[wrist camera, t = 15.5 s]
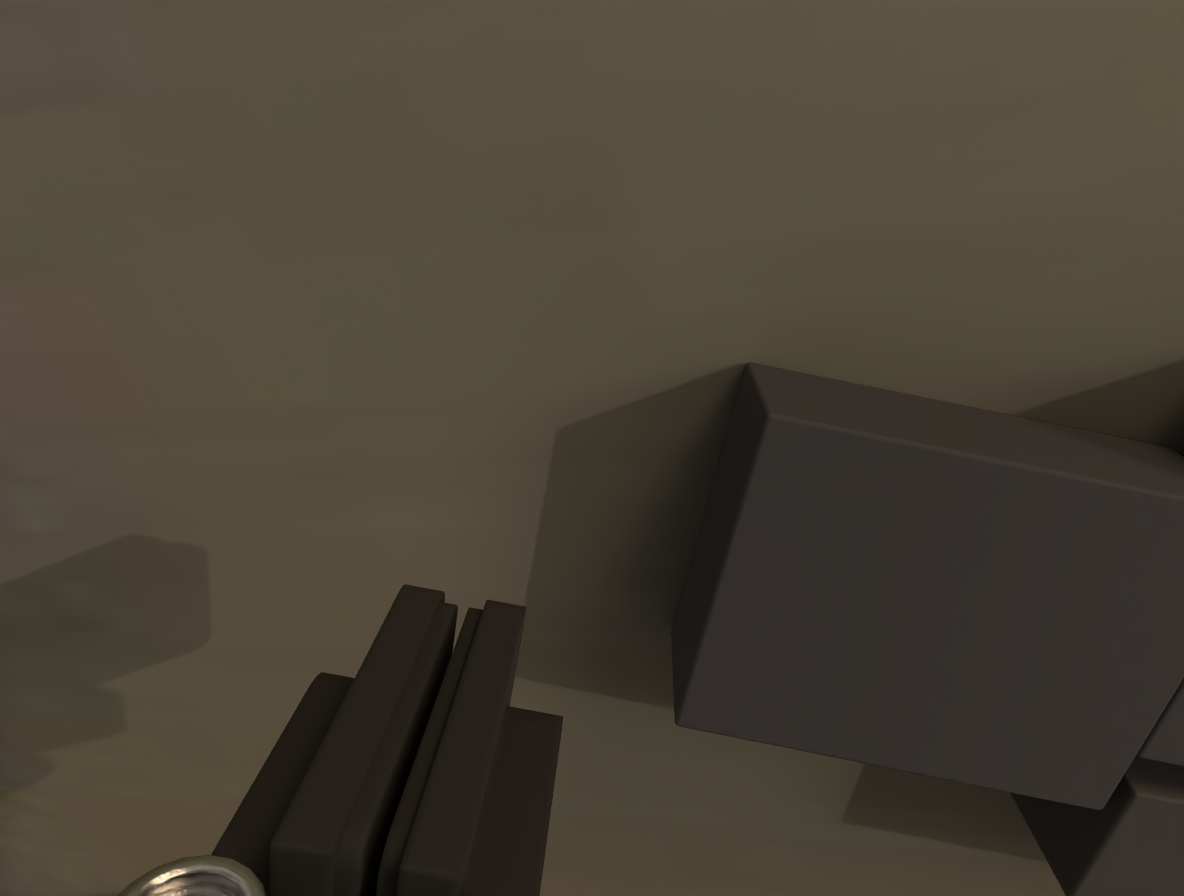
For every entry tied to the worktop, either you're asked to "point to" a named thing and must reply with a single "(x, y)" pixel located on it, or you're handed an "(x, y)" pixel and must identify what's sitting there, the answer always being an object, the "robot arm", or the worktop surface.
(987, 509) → the tongue pad
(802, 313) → the worktop surface
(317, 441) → the worktop surface
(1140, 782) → the notch pad
